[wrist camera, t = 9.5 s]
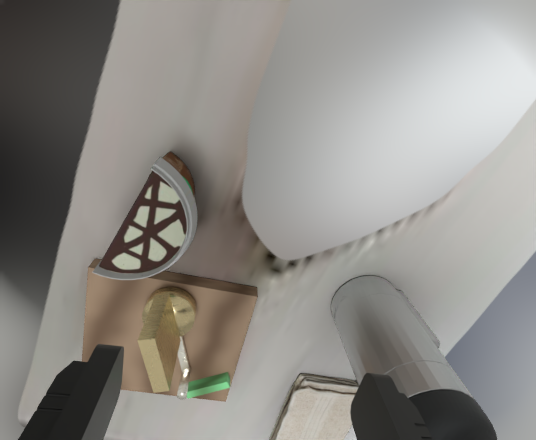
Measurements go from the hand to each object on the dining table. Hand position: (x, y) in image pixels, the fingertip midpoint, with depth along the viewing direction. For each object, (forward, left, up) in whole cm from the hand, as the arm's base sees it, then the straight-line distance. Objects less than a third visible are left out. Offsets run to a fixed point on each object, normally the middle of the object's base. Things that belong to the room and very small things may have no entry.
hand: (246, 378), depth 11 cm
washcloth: (-21, +38, -29) cm, 52 cm away
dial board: (+4, +25, -28) cm, 38 cm away
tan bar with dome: (+3, +22, -26) cm, 34 cm away
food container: (+6, +6, -28) cm, 30 cm away
